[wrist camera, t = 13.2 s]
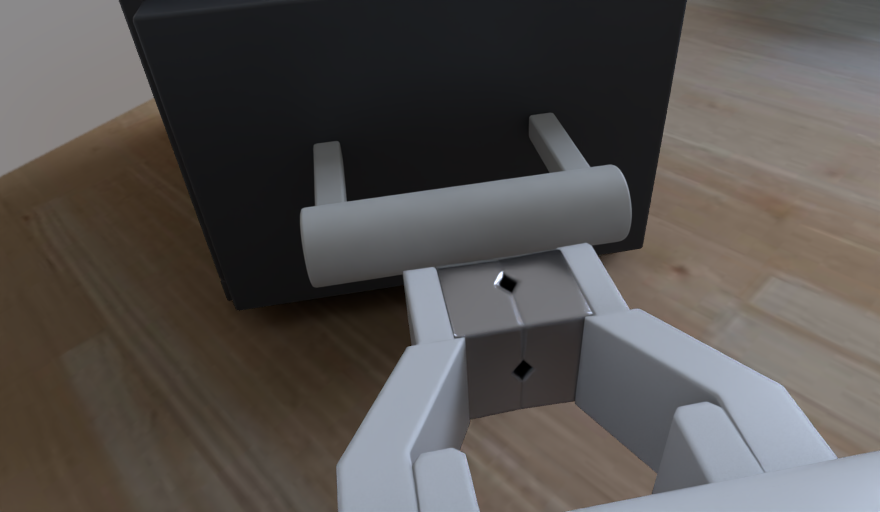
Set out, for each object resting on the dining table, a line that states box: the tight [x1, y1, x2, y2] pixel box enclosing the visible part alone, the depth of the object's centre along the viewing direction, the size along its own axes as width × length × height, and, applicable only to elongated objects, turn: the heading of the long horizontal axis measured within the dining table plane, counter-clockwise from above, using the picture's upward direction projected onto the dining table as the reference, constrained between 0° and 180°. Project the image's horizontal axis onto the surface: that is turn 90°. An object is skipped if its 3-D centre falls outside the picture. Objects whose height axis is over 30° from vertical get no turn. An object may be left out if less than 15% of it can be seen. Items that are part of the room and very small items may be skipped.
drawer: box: [133, 0, 687, 311], centre depth 19 cm, size 18×11×8 cm, turn 10°
